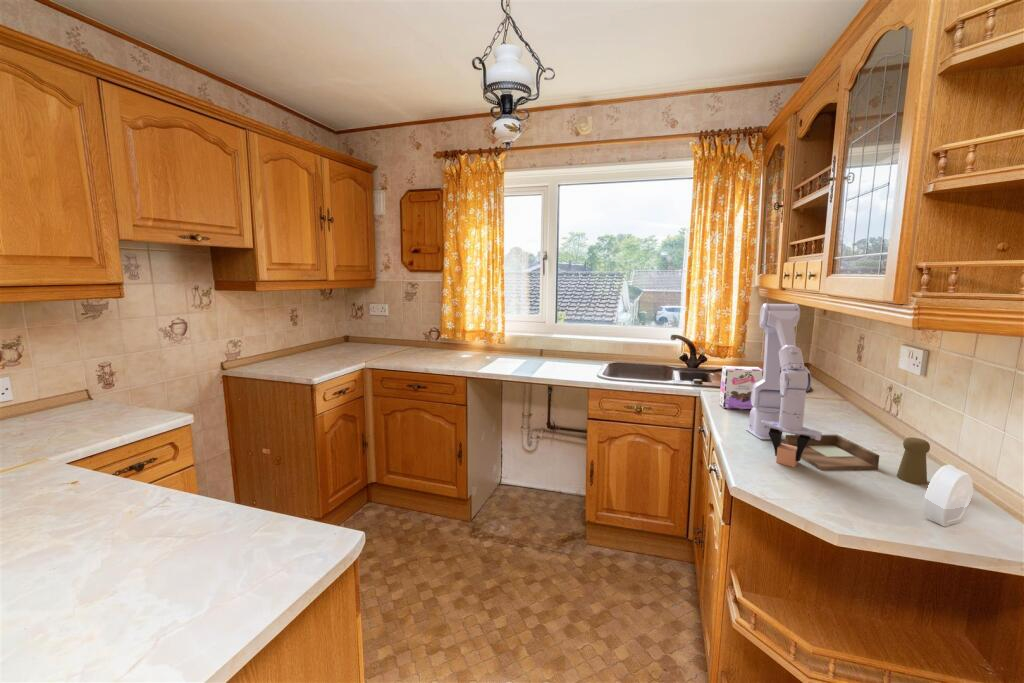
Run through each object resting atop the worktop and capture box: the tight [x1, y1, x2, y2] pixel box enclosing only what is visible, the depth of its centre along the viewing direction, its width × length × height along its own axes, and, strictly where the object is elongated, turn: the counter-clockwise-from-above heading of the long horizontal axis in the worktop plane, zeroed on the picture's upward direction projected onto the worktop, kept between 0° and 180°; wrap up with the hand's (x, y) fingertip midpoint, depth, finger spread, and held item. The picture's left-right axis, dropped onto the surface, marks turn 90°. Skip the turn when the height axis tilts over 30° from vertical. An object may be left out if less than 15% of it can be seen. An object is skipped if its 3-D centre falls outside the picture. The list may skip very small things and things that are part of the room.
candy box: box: [718, 365, 763, 410], centre depth 179 cm, size 14×6×16 cm, turn 81°
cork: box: [896, 436, 931, 485], centre depth 117 cm, size 6×6×11 cm
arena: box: [784, 434, 880, 471], centre depth 131 cm, size 16×16×4 cm
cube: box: [775, 442, 799, 468], centre depth 128 cm, size 4×4×4 cm
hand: (787, 457), depth 128 cm, fingers closed on cube, 4 cm apart
